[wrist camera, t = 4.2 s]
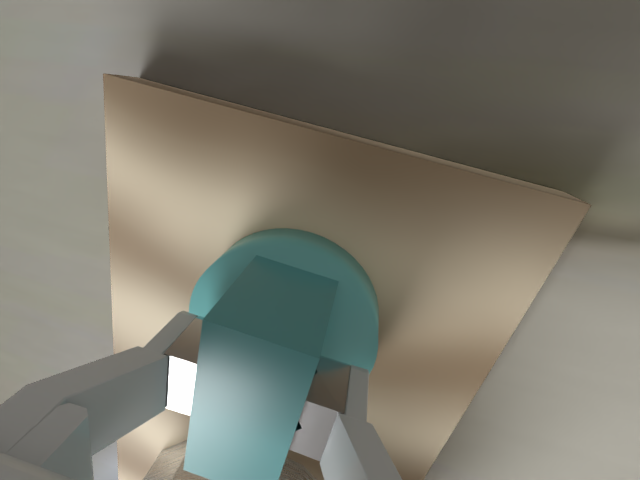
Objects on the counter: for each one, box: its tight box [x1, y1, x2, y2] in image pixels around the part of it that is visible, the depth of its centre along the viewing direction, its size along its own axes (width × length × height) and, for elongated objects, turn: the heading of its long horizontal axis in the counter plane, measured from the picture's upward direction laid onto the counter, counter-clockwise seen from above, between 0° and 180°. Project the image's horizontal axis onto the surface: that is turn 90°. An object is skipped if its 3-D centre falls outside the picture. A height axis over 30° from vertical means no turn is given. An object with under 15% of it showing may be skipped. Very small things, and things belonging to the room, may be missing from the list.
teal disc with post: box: [183, 228, 379, 480], centre depth 9 cm, size 6×6×4 cm
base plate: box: [103, 74, 591, 480], centre depth 15 cm, size 25×14×2 cm, turn 167°
